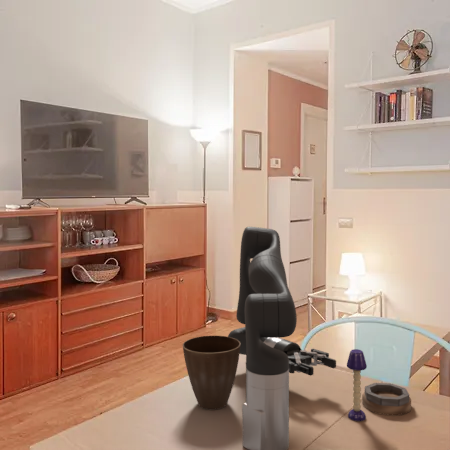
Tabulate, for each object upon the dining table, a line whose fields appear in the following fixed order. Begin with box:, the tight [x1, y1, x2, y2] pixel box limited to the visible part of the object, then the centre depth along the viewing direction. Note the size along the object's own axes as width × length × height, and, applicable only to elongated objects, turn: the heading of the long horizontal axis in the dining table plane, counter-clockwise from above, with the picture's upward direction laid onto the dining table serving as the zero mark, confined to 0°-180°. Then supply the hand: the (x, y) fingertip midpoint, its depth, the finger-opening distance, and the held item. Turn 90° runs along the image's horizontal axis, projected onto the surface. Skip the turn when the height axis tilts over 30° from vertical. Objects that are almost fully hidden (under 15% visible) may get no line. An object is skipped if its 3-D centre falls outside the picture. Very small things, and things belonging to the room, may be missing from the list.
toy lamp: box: [346, 348, 368, 422], centre depth 123 cm, size 5×5×17 cm
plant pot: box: [182, 335, 241, 411], centre depth 132 cm, size 15×15×16 cm
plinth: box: [361, 382, 412, 416], centre depth 131 cm, size 12×12×4 cm
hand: (324, 367), depth 131 cm, fingers open, 8 cm apart
